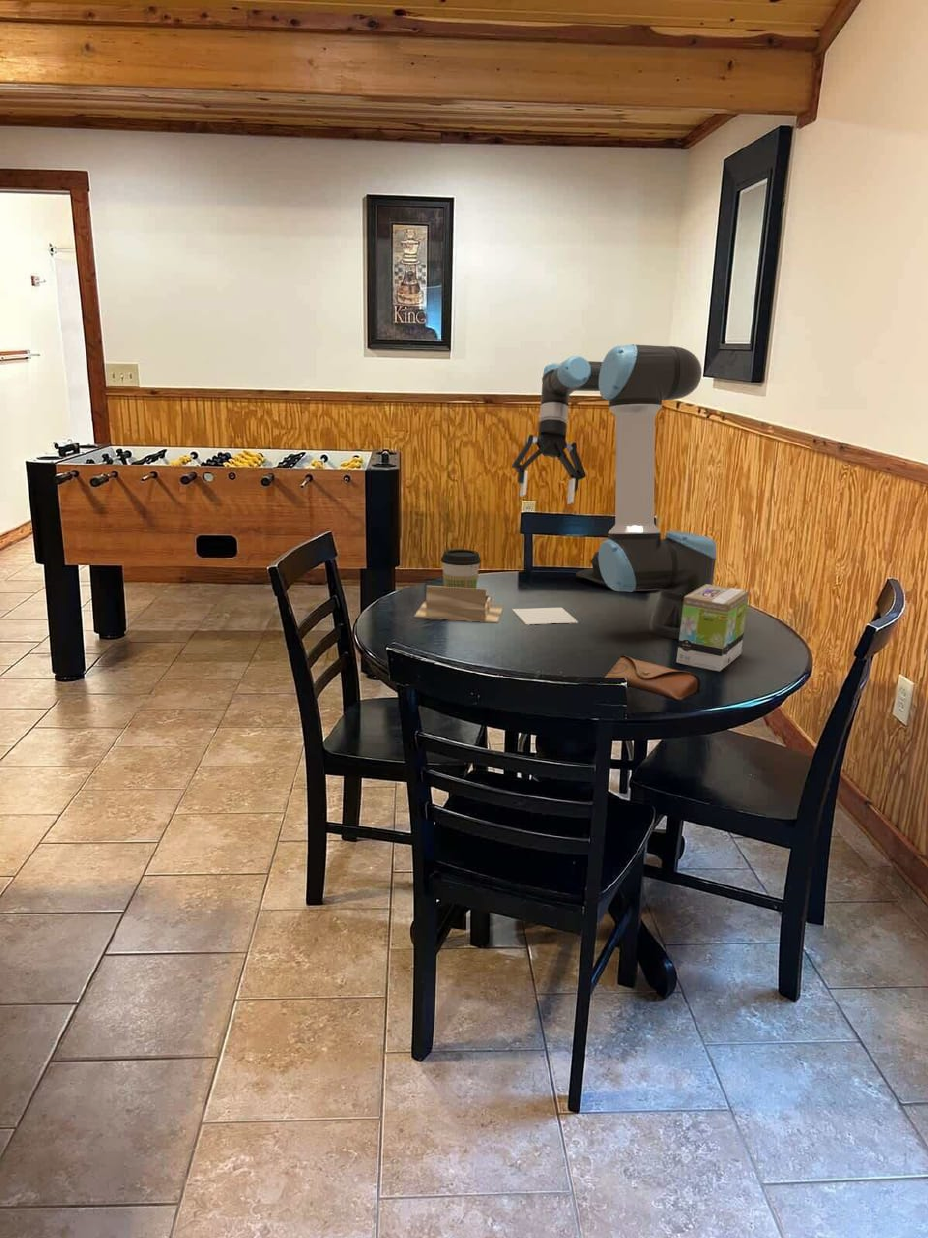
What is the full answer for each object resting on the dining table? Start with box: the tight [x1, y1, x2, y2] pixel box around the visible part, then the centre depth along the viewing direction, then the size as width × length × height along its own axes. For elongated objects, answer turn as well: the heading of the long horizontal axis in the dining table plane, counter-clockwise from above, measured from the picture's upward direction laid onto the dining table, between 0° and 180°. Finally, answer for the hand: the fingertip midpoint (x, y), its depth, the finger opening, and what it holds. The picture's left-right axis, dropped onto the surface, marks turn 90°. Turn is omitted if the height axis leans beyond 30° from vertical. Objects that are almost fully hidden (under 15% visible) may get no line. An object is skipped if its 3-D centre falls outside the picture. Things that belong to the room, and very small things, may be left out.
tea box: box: [675, 584, 750, 672], centre depth 195 cm, size 15×10×15 cm, turn 148°
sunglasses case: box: [604, 654, 701, 701], centre depth 181 cm, size 18×7×7 cm
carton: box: [413, 585, 504, 624], centre depth 228 cm, size 17×20×8 cm
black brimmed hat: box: [575, 551, 610, 588], centre depth 259 cm, size 25×19×8 cm
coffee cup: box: [440, 548, 482, 589], centre depth 225 cm, size 10×10×15 cm
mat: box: [511, 607, 579, 626], centre depth 226 cm, size 13×13×1 cm
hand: (546, 499), depth 247 cm, fingers open, 13 cm apart
